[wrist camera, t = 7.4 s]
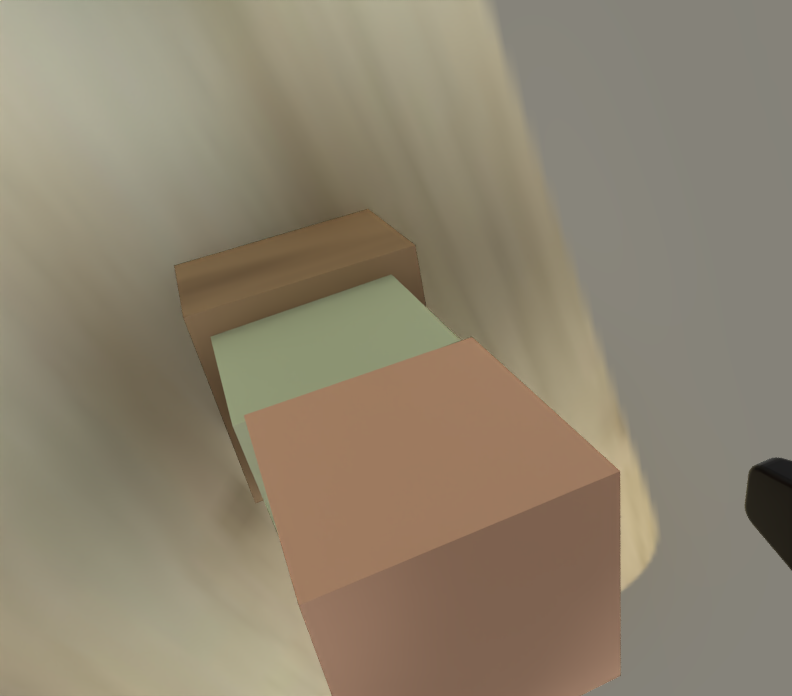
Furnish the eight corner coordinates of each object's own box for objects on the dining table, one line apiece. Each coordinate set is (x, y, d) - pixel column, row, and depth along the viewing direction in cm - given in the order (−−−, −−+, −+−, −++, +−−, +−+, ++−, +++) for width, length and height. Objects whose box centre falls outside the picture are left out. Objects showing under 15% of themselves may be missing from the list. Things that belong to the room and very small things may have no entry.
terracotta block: (494, 508, 13) (620, 675, 10) (304, 586, 12) (370, 800, 9) (472, 336, 11) (620, 470, 8) (244, 415, 10) (298, 604, 7)
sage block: (424, 420, 16) (490, 509, 13) (269, 482, 15) (301, 592, 12) (391, 274, 14) (460, 340, 11) (210, 336, 13) (232, 426, 10)
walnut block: (399, 368, 19) (448, 429, 16) (235, 426, 18) (255, 503, 15) (365, 207, 17) (415, 245, 14) (173, 262, 16) (183, 317, 13)
